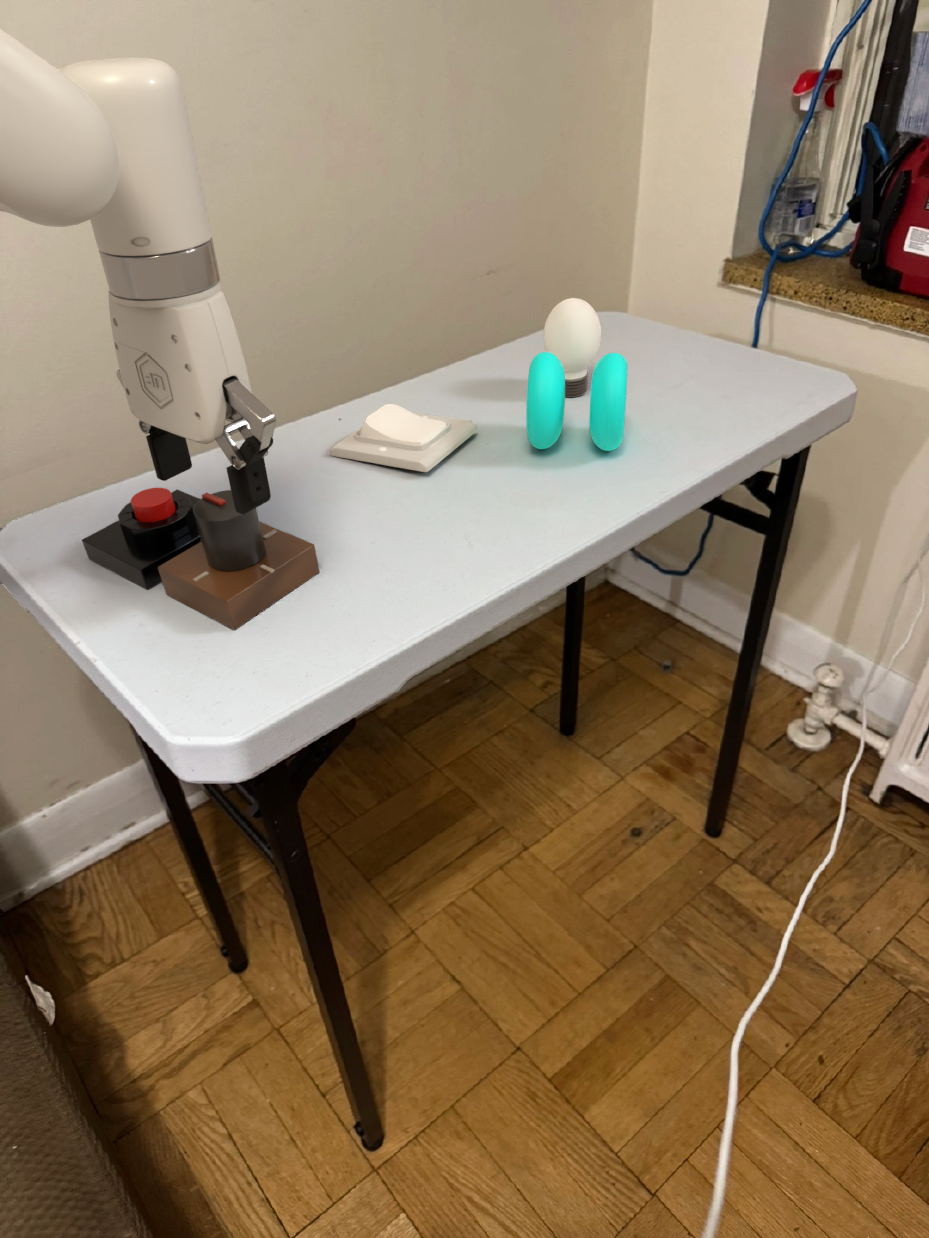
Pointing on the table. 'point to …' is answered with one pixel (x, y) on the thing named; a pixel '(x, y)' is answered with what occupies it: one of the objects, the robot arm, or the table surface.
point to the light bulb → (573, 341)
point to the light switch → (404, 439)
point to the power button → (153, 505)
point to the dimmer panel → (240, 578)
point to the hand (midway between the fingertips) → (213, 489)
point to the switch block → (144, 541)
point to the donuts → (550, 401)
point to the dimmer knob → (228, 533)
